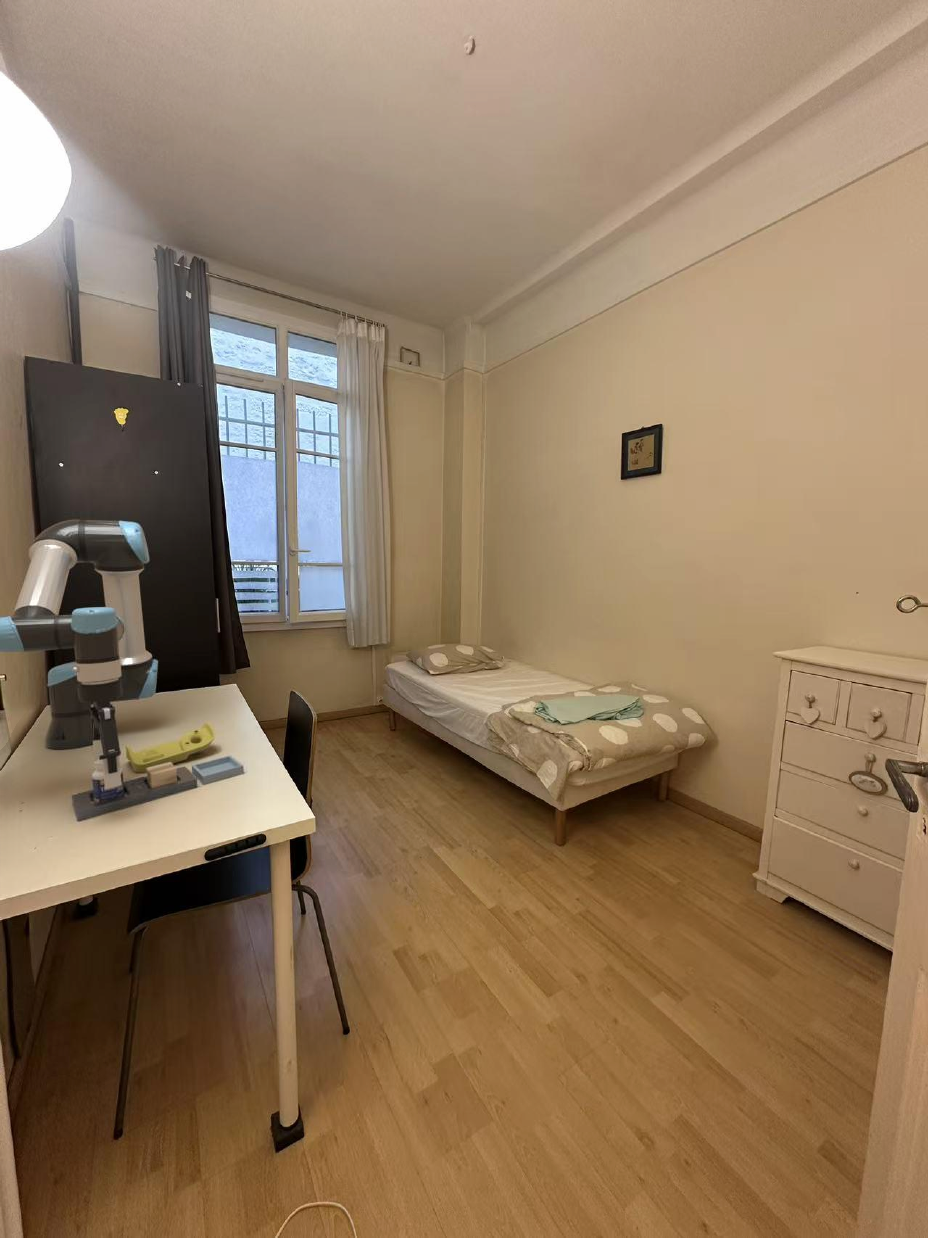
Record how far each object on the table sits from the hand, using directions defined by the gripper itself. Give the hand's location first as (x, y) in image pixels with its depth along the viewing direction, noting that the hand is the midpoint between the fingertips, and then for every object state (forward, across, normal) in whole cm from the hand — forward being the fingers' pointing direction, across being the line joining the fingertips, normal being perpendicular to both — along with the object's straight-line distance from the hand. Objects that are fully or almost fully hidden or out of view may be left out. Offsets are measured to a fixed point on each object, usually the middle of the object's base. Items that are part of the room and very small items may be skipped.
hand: (107, 776), depth 105 cm
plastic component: (+6, -18, +16) cm, 25 cm away
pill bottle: (+6, 0, 0) cm, 6 cm away
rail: (+6, 0, +5) cm, 8 cm away
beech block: (+6, 0, +10) cm, 12 cm away
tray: (+6, 0, +22) cm, 23 cm away
